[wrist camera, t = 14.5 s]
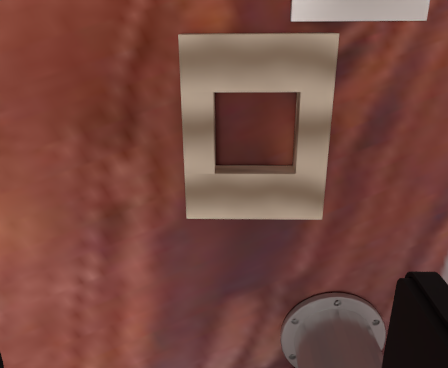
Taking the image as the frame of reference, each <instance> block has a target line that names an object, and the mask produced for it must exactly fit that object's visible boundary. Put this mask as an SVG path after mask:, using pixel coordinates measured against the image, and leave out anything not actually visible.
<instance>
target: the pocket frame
mask: <svg viewBox="0 0 448 368" xmlns="http://www.w3.org/2000/svg"><path fill="white" fill-rule="evenodd" d="M178 39H179V61H180V83H181V105H182V127H183V150H184V172H185V194H186V216H187V219H314V220H322V215H323V204H324V193H325V182H326V172H327V161H328V150H329V139H330V129H331V118H332V107H333V96H334V86H335V75H336V64H337V53H338V42H339V34H338V33H204V34H179V35H178ZM215 92H297V98H296V115H295V131H294V148H293V165H292V166H265V165H216V140H215Z"/></svg>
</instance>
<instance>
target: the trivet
mask: <svg viewBox="0 0 448 368" xmlns="http://www.w3.org/2000/svg"><path fill="white" fill-rule="evenodd" d="M429 2H430V0H291V13H290V21H427V15H428V9H429Z"/></svg>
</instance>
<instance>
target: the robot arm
mask: <svg viewBox="0 0 448 368" xmlns="http://www.w3.org/2000/svg"><path fill="white" fill-rule="evenodd" d="M280 336H281V345H282V350H283V352H284V355H285V357H286V358H287V360H288V361H289V362H290V363H291V364H292V365H293V366H294V367H295V368H448V285H447V283H446V282H445V281H444V280H443V278H442V277H441V276H440V275H439V274H438V273H436V272H408V273H407V274H406V276H405V278H400V279H399V280H398V281H397V285H396V290H395V296H394V301H393V307H392V312H391V318H390V323H389V329H388V334H387V340H386V346H385V351H384V356H383V354H382V349H383V347H384V343H385V339H386V331H385V326H384V323H383V321H382V318H381V316H380V315H379V313H378V312H377V310H376V309H375V308H374V307H373V306H372V305H371V304H370V303H368V302H367V301H365V300H364V299H362V298H359V297H357V296H355V295H350V294H346V293H326V294H321V295H317V296H313V297H311V298H309V299H307V300H304V301H303V302H301V303H300V304H298V305H297V306H296V307H295V308H294V309H293V310H292V311H290V313H289V314H288V315H287V317H286V318H285V320H284V322H283V325H282V328H281V333H280ZM0 368H4V365H3V361H2V357H1V353H0Z"/></svg>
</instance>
